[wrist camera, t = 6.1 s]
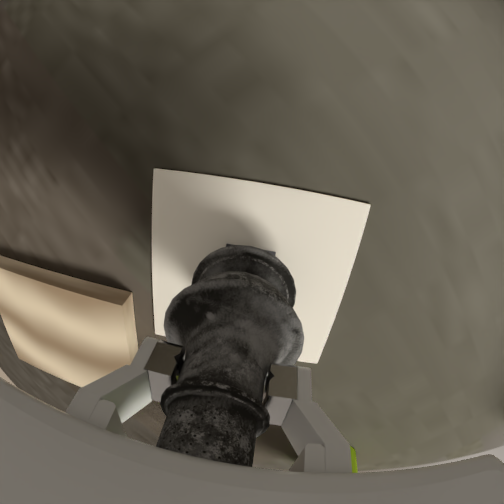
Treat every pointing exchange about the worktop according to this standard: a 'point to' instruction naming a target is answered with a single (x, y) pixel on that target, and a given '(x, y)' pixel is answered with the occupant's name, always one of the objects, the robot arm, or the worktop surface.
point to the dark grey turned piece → (228, 352)
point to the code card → (256, 240)
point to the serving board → (66, 322)
